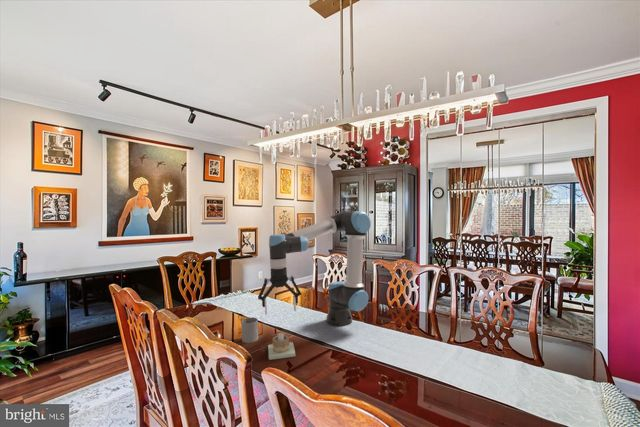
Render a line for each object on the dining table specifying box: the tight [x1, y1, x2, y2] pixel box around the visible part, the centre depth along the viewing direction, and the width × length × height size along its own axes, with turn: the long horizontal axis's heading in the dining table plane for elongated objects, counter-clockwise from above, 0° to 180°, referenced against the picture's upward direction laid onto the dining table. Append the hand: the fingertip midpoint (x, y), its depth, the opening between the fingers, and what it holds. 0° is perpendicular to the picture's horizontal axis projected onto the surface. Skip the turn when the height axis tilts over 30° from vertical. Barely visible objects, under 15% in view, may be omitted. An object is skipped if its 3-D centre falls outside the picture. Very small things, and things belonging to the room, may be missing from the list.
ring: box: [272, 334, 290, 353], centre depth 144 cm, size 8×8×5 cm
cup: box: [240, 316, 259, 344], centre depth 160 cm, size 8×8×10 cm
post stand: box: [267, 332, 296, 361], centre depth 144 cm, size 12×12×8 cm
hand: (280, 312), depth 145 cm, fingers open, 13 cm apart
